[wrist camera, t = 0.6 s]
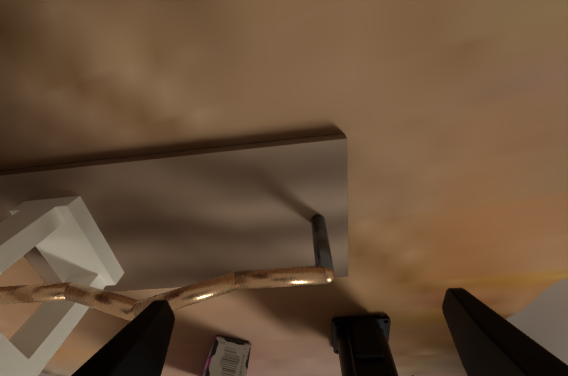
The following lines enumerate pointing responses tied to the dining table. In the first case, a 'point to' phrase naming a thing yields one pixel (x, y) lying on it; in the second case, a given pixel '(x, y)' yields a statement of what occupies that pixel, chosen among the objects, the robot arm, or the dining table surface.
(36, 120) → the dining table surface
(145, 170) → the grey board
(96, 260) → the hollow square tube
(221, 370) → the candy bar box
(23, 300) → the bent copper wire
